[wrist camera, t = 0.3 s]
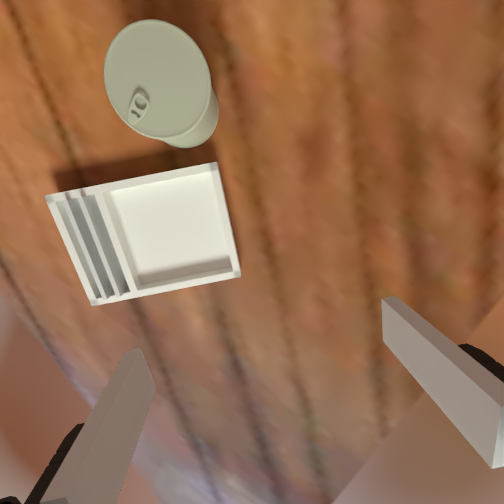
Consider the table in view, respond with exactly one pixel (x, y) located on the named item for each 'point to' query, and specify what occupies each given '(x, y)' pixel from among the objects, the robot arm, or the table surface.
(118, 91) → the can
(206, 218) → the rack
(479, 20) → the table surface
